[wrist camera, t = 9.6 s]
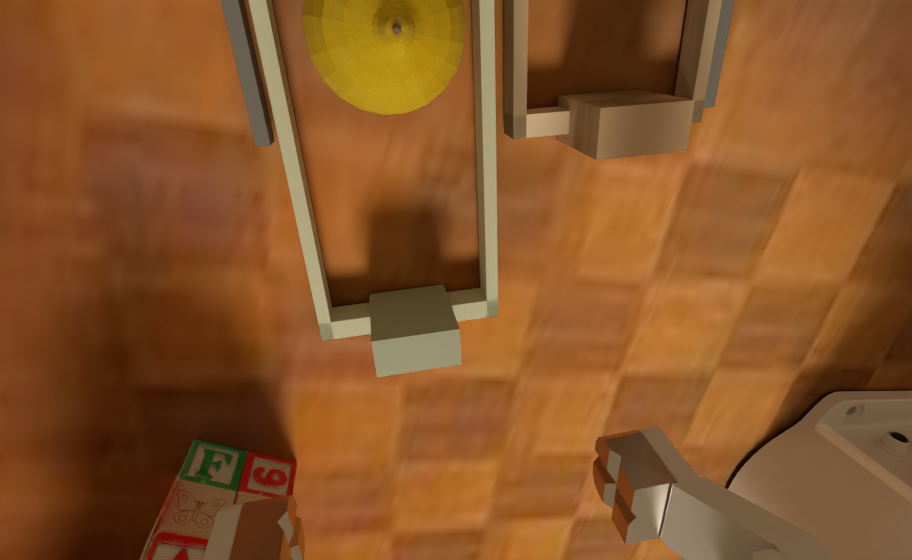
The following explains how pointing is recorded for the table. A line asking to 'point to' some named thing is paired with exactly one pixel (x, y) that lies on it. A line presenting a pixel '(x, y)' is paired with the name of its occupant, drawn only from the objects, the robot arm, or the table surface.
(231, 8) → the lane guides
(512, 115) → the frame
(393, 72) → the fruit
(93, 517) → the table surface
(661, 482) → the robot arm
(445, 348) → the frame
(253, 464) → the stack of blocks
